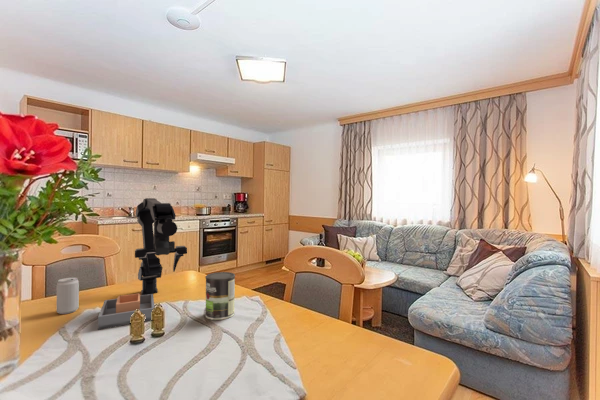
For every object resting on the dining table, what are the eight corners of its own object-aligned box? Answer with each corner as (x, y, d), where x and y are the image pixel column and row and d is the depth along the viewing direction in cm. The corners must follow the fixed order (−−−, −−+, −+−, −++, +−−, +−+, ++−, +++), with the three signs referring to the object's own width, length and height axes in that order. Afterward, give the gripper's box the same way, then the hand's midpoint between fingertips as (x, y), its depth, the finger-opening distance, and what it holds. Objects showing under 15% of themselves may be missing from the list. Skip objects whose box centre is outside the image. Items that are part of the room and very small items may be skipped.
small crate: (118, 309, 105) (118, 296, 105) (139, 306, 109) (140, 293, 109) (115, 319, 97) (116, 304, 97) (139, 315, 100) (139, 301, 100)
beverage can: (66, 315, 103) (66, 281, 103) (51, 314, 104) (52, 280, 104) (82, 309, 109) (83, 277, 109) (69, 307, 110) (69, 276, 110)
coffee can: (215, 322, 96) (215, 280, 96) (199, 314, 103) (200, 275, 103) (240, 314, 104) (240, 275, 104) (224, 307, 111) (225, 270, 111)
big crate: (104, 311, 107) (104, 300, 107) (153, 303, 114) (153, 293, 114) (97, 329, 91) (97, 317, 91) (154, 319, 99) (154, 308, 99)
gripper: (134, 237, 105) (134, 280, 104) (188, 234, 113) (188, 274, 113) (135, 234, 114) (135, 273, 114) (185, 232, 123) (185, 268, 123)
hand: (161, 272), depth 116 cm, fingers open, 9 cm apart
